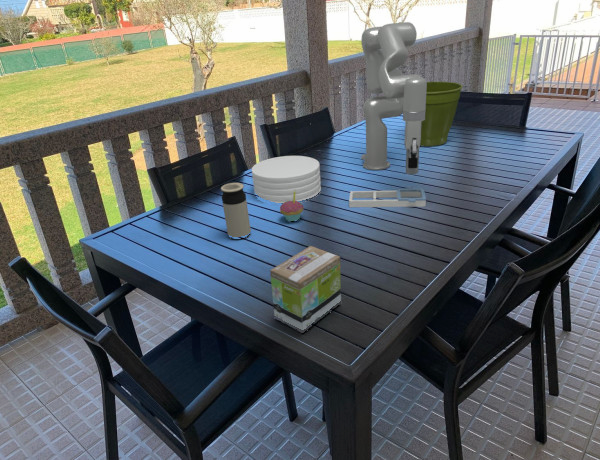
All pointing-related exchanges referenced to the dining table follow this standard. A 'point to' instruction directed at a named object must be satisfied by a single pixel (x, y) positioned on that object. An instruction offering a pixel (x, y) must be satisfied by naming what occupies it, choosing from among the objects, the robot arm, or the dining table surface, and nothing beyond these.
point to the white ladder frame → (389, 194)
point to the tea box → (306, 286)
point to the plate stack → (287, 178)
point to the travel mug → (235, 210)
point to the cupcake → (291, 209)
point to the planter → (408, 170)
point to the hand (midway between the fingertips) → (412, 165)
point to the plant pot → (439, 112)
